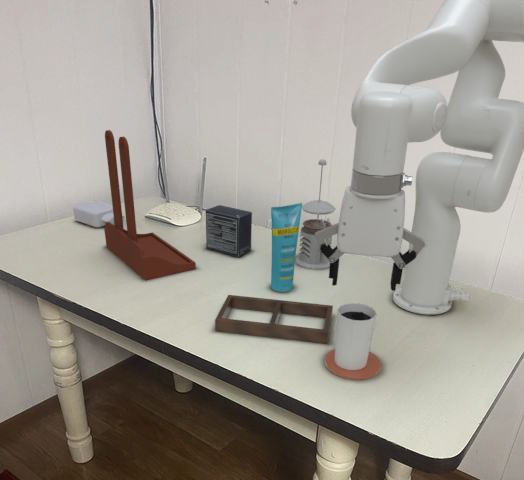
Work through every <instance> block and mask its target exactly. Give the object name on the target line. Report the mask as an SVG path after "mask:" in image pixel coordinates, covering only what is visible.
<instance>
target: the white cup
mask: <svg viewBox="0 0 524 480" xmlns="http://www.w3.org/2000/svg"><path fill="white" fill-rule="evenodd" d="M336 311H337V312H336V327H335V341H334V342H335V343H334V344H335V345H334V349H335V358H334V359H335V363H336V364H337V365H338V366H339V367H341V368H344V369H347V370H359V369H362V368H364V367H365V366H366V364H367V359H368V354H369V352H370V350H371V346H372V345H371V344H372V338H373V334H374V329H375V325H376V319H377V311H376V309H374V308H373V306H369V305H367V304H364V303H359V302H357V303H356V302H348V303H344V304H341V305H339V307H338V308H337V310H336Z"/></svg>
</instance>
